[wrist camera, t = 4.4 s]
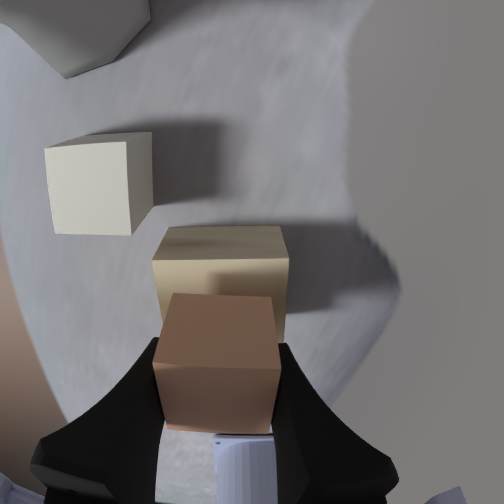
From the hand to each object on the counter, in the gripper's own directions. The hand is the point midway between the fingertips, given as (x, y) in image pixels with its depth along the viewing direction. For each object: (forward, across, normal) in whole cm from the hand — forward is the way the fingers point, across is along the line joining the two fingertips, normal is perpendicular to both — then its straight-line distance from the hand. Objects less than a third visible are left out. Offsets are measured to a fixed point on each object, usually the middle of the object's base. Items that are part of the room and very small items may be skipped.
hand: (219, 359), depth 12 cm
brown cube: (+2, 0, 0) cm, 2 cm away
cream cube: (+7, +6, -6) cm, 11 cm away
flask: (+7, +8, -15) cm, 18 cm away
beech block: (+7, 0, 0) cm, 7 cm away
